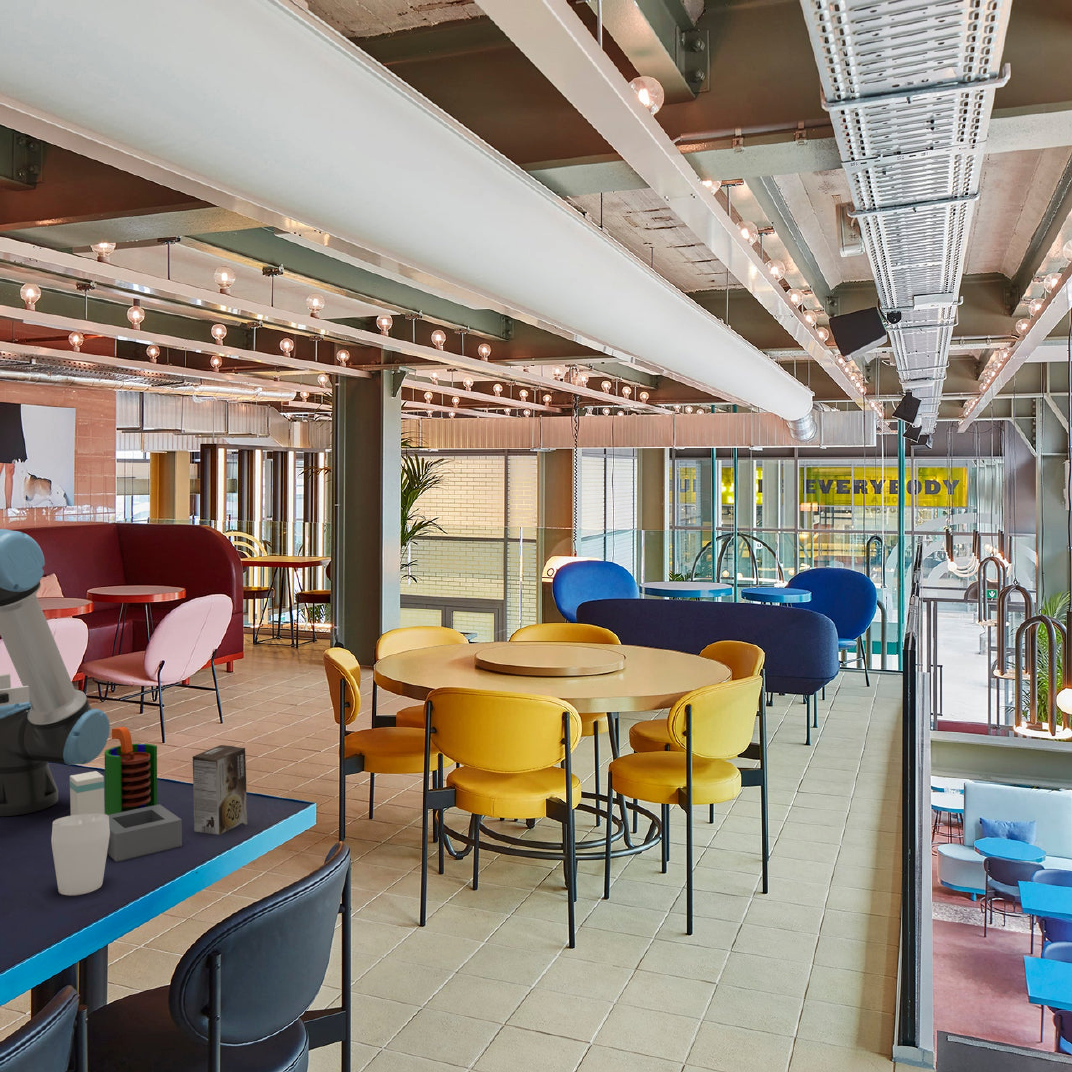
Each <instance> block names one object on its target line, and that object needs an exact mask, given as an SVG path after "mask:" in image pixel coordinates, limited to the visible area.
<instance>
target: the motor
mask: <svg viewBox="0 0 1072 1072" xmlns="http://www.w3.org/2000/svg"><path fill="white" fill-rule="evenodd" d="M111 739H112V740H119V742H120V745H117V746H113V747H110V748H108V749H106V750H105V751H104V754H103V755H104V808H105V814H106V815H111V814H115V813H120V812H125V811H130V810H134V809H139V808H144V807H149V806H153V805H158V745H155V744H151V743H133V741H132V735H131V731H130V729H129V728H128V727H126V726H120V727H119V726H118V727H115V728H112V729H111Z"/></svg>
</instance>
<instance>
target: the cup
mask: <svg viewBox="0 0 1072 1072" xmlns="http://www.w3.org/2000/svg"><path fill="white" fill-rule="evenodd" d="M51 831H52V832H51V837H50V840H51V842H50V843H51V849H52V855H53V863H54V870H55V876H56V878H55V879H56V883H57V889H58V890H57V891H58V893H59V894H60V895H65V896H80V895H84V894H89V893H91V892H94V891H96V890H98V889H99V888H101V887H102V885H103V884H104V883H103V882H104V877H105V875H104V874H105V868H106V862H107V856H108V854H107V850H108V844H109V837H110V829H109V816H108V815H106V814H98V813H90V814H78V815H72V816H71V815H67V816H63V817H59V818H56V819H55V820H53V821H52V829H51Z"/></svg>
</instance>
